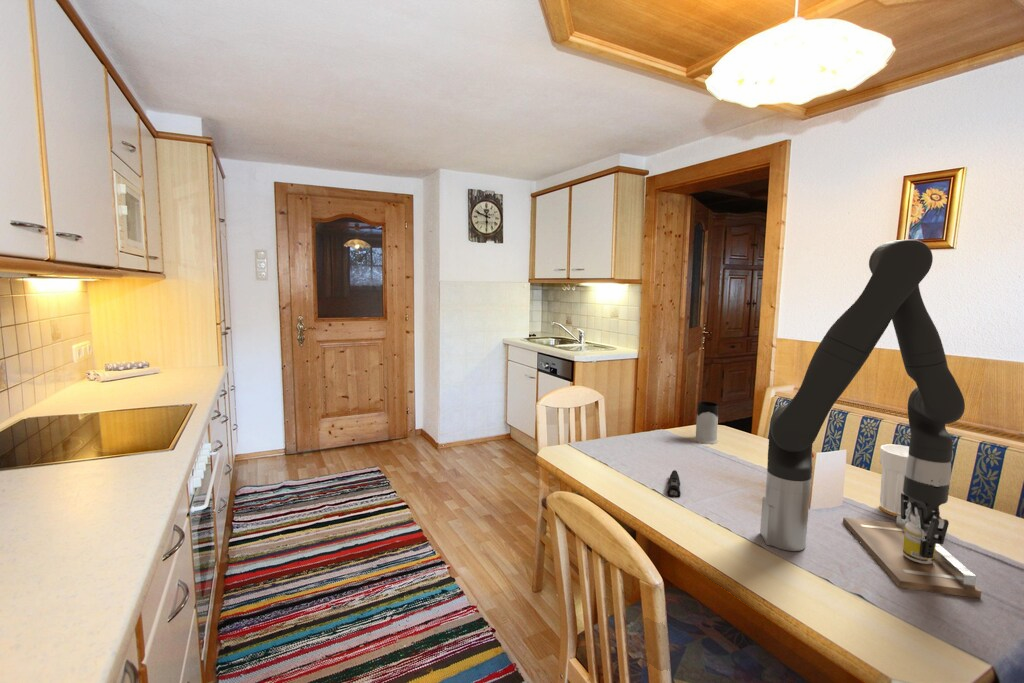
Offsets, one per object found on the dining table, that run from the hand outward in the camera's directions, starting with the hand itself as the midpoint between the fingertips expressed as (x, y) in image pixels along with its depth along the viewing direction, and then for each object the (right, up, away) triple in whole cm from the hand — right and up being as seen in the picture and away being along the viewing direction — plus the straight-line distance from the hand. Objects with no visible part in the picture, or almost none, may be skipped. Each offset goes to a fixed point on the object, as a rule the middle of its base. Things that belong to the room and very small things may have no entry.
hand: (918, 549), depth 108 cm
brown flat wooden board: (0, -3, +5) cm, 6 cm away
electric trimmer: (-41, +1, +42) cm, 58 cm away
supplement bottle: (0, -2, 0) cm, 2 cm away
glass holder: (-12, +7, +88) cm, 89 cm away
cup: (+17, -1, +26) cm, 31 cm away
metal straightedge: (+5, -2, +3) cm, 7 cm away
